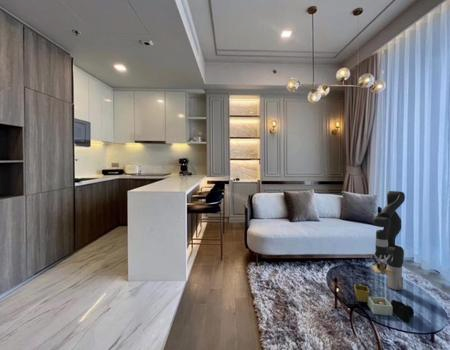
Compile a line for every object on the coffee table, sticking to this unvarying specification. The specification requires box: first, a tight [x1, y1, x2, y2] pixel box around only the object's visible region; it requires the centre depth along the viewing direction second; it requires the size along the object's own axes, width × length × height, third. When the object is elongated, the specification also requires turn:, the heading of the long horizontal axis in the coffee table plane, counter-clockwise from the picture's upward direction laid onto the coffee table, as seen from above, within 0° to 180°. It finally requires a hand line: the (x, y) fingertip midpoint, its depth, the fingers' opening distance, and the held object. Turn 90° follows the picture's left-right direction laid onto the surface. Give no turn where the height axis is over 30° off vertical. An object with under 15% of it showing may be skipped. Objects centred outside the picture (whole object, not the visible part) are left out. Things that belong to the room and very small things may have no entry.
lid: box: [369, 261, 394, 275], centre depth 178 cm, size 12×12×7 cm
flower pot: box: [353, 284, 370, 303], centre depth 179 cm, size 9×9×9 cm
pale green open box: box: [367, 295, 393, 316], centre depth 166 cm, size 11×11×6 cm
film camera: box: [390, 299, 415, 324], centre depth 159 cm, size 15×10×9 cm, turn 177°
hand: (381, 268), depth 178 cm, fingers closed on lid, 3 cm apart
